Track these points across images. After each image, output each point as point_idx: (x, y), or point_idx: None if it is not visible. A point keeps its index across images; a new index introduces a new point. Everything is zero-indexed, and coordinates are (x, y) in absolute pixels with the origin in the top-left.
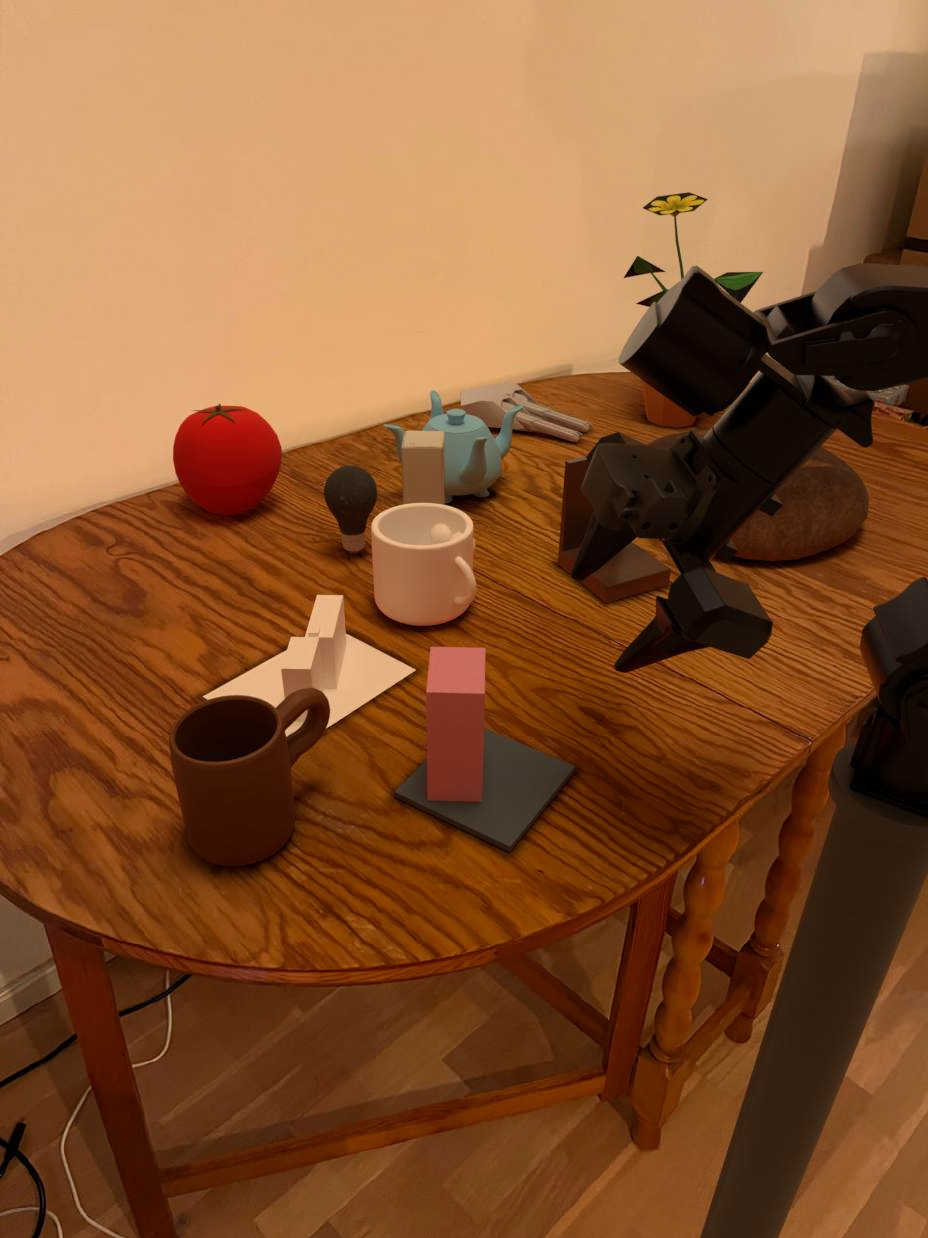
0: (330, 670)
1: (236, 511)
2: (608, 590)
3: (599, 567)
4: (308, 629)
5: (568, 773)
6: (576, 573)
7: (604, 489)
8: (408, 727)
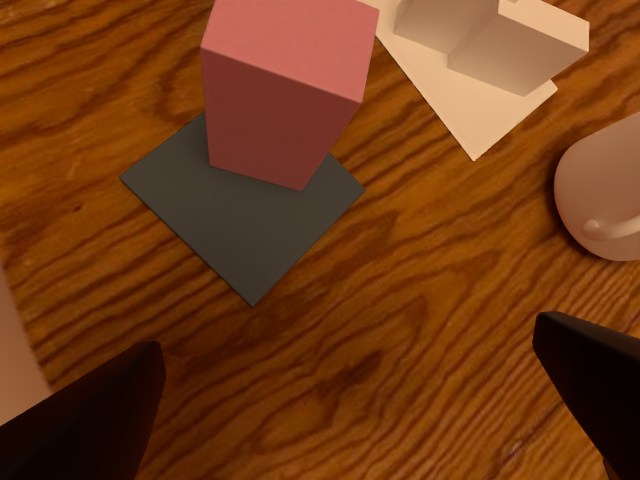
0: (463, 45)
1: None
2: None
3: (575, 414)
4: None
5: (239, 292)
6: (550, 327)
7: None
8: (370, 126)
